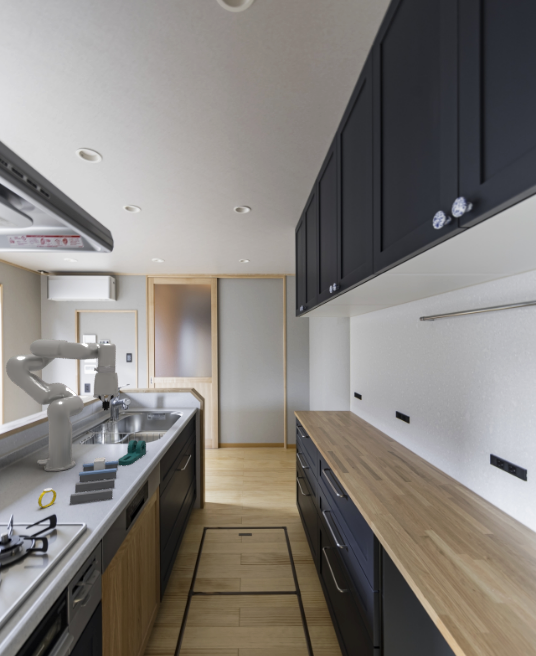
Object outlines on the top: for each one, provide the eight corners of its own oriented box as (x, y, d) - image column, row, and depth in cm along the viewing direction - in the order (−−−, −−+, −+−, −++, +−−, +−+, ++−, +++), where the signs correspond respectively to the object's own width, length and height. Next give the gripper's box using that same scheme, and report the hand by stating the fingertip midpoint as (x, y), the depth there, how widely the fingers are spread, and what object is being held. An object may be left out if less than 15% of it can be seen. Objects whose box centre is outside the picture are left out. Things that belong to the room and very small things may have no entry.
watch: (52, 502, 132) (53, 486, 133) (57, 504, 131) (58, 487, 132) (35, 508, 127) (37, 491, 127) (41, 510, 125) (42, 492, 126)
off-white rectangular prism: (93, 478, 155) (93, 461, 155) (95, 474, 160) (95, 458, 160) (103, 477, 156) (104, 460, 156) (104, 473, 161) (105, 457, 161)
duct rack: (69, 504, 130) (69, 493, 130) (83, 472, 161) (83, 463, 161) (112, 498, 135) (113, 488, 135) (118, 468, 166) (118, 460, 166)
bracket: (133, 453, 189) (133, 438, 189) (145, 454, 188) (146, 439, 188) (115, 465, 171) (116, 449, 171) (129, 466, 170) (129, 449, 170)
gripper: (87, 371, 161) (86, 412, 160) (123, 370, 166) (123, 410, 165) (89, 369, 168) (89, 409, 167) (124, 369, 173) (123, 407, 172)
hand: (105, 409), depth 166 cm, fingers closed
